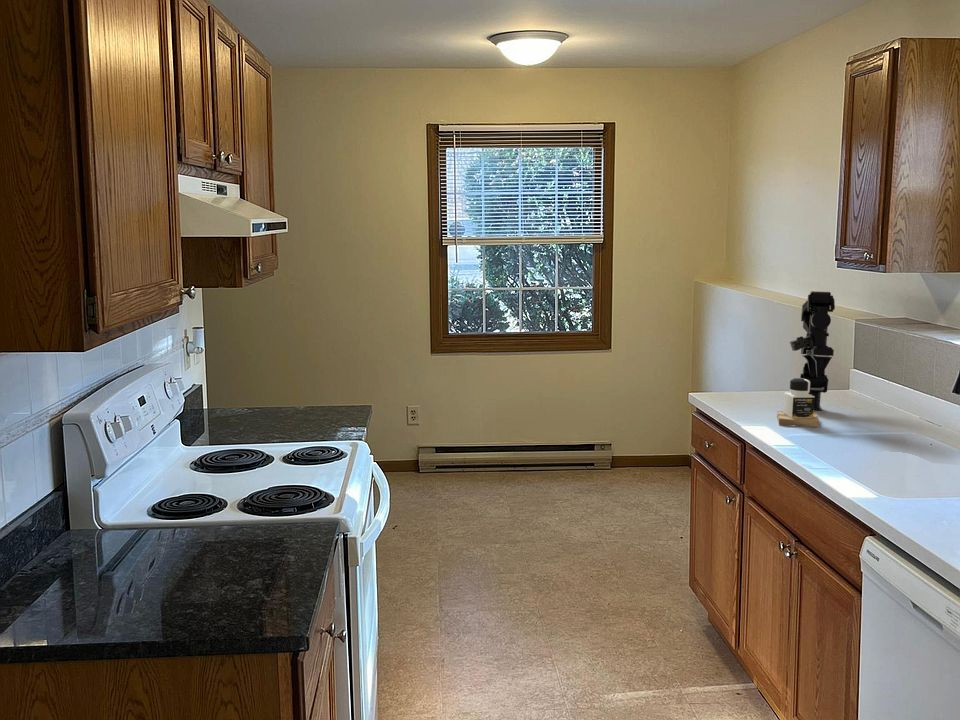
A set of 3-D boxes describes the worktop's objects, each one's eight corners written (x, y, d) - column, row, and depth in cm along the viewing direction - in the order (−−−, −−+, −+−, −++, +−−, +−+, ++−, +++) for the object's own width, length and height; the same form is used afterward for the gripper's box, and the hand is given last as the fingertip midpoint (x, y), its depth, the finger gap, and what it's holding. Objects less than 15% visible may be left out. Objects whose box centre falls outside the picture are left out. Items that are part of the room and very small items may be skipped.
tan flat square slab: (776, 417, 313) (777, 411, 313) (815, 419, 310) (815, 413, 310) (779, 425, 302) (779, 418, 301) (819, 427, 299) (819, 421, 298)
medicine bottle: (792, 418, 302) (794, 381, 300) (782, 413, 309) (784, 377, 307) (813, 418, 303) (816, 381, 301) (803, 413, 310) (806, 377, 308)
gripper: (786, 328, 323) (784, 374, 324) (799, 328, 305) (796, 376, 305) (820, 330, 322) (817, 376, 323) (835, 330, 304) (832, 379, 304)
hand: (815, 377), depth 314 cm, fingers open, 9 cm apart
